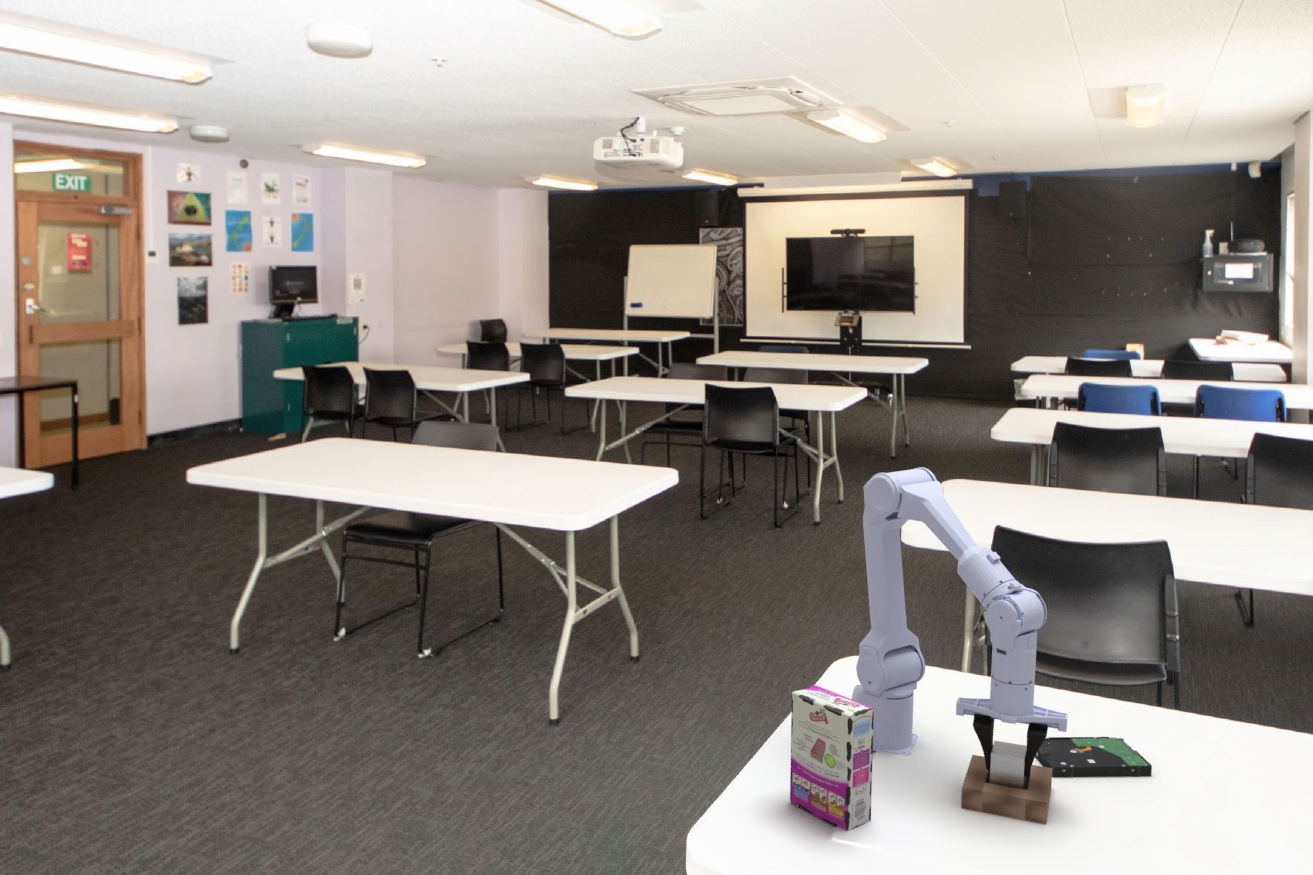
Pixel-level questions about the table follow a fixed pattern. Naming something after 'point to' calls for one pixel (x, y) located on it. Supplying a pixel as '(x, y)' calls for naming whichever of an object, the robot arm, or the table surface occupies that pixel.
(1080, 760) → the disk drive
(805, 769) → the candy bar box
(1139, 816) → the table surface
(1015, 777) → the steel block
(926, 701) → the table surface
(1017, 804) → the pocket block
